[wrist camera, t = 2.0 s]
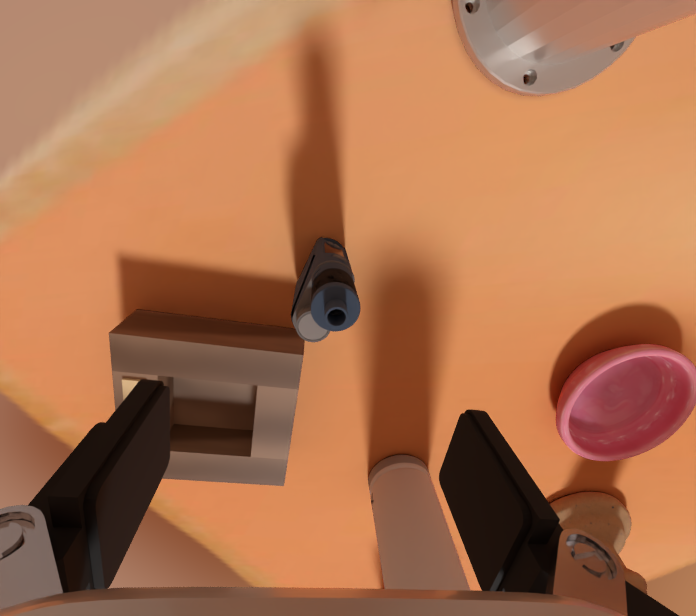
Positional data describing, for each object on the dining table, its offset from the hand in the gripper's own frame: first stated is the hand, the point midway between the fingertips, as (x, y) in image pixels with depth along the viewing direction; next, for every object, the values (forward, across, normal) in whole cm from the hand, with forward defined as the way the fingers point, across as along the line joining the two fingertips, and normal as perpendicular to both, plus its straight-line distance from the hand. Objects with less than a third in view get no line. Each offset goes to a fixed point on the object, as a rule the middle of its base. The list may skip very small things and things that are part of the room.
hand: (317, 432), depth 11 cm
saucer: (+18, -29, +7) cm, 35 cm away
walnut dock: (+18, +7, +11) cm, 22 cm away
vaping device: (+18, 0, -1) cm, 18 cm away
